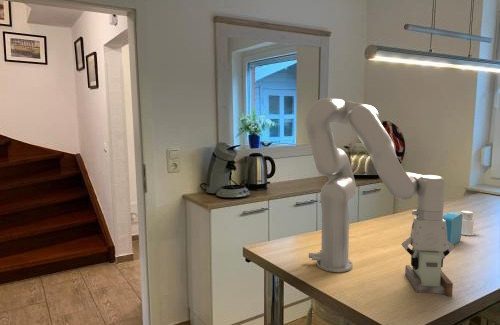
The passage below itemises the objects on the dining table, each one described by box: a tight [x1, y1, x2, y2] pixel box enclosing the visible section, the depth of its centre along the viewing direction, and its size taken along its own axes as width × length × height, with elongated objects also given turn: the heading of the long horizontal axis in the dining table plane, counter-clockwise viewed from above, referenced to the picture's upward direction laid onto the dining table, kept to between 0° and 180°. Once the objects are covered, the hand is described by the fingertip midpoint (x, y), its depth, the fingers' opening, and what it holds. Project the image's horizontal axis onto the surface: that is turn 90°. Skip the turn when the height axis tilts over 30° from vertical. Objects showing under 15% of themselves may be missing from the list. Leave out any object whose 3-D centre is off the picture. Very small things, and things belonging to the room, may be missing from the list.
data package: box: [443, 211, 462, 246], centre depth 159 cm, size 12×4×12 cm, turn 133°
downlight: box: [460, 210, 475, 236], centre depth 170 cm, size 8×7×10 cm
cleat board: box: [404, 264, 454, 297], centre depth 124 cm, size 10×20×4 cm, turn 172°
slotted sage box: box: [411, 251, 442, 287], centre depth 122 cm, size 6×10×10 cm, turn 172°
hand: (426, 268), depth 122 cm, fingers open, 6 cm apart
